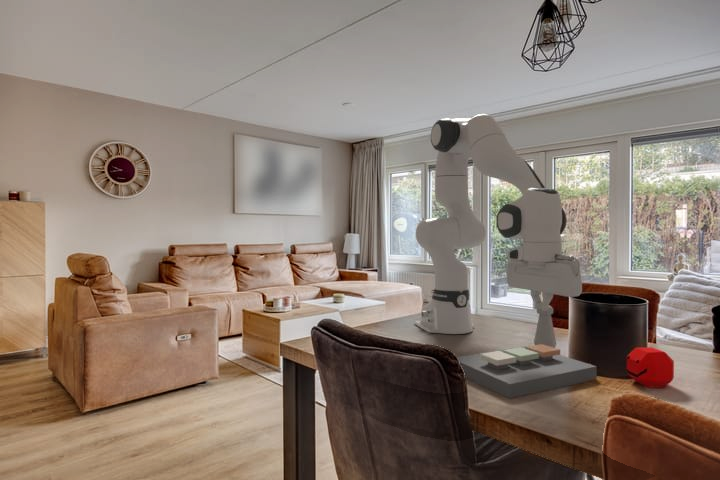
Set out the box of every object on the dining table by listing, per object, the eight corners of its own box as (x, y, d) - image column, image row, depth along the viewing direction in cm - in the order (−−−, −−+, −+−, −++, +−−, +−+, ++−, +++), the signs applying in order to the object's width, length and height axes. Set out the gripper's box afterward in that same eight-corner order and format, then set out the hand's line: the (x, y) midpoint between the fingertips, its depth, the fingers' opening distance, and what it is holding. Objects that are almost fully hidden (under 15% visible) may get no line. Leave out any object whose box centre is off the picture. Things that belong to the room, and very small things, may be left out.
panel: (450, 370, 106) (450, 358, 106) (529, 356, 116) (529, 345, 116) (509, 398, 88) (509, 384, 88) (596, 379, 98) (596, 366, 98)
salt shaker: (558, 354, 118) (558, 307, 118) (536, 353, 119) (536, 307, 119) (553, 348, 124) (553, 303, 124) (532, 347, 125) (532, 303, 125)
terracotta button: (525, 363, 106) (525, 346, 106) (541, 360, 109) (541, 344, 108) (543, 370, 101) (543, 352, 101) (560, 366, 103) (560, 349, 103)
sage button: (503, 367, 103) (503, 350, 103) (520, 364, 106) (520, 347, 106) (520, 374, 98) (520, 356, 98) (538, 370, 101) (538, 353, 101)
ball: (620, 378, 99) (620, 345, 99) (653, 377, 99) (653, 344, 99) (646, 391, 91) (646, 355, 91) (681, 389, 91) (681, 354, 91)
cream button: (480, 371, 101) (480, 353, 100) (498, 368, 103) (498, 350, 103) (497, 379, 95) (497, 360, 95) (516, 375, 98) (516, 357, 98)
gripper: (589, 255, 96) (588, 316, 97) (520, 251, 115) (520, 302, 115) (569, 256, 94) (568, 319, 94) (502, 251, 112) (502, 304, 113)
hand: (541, 309), depth 105 cm, fingers closed
